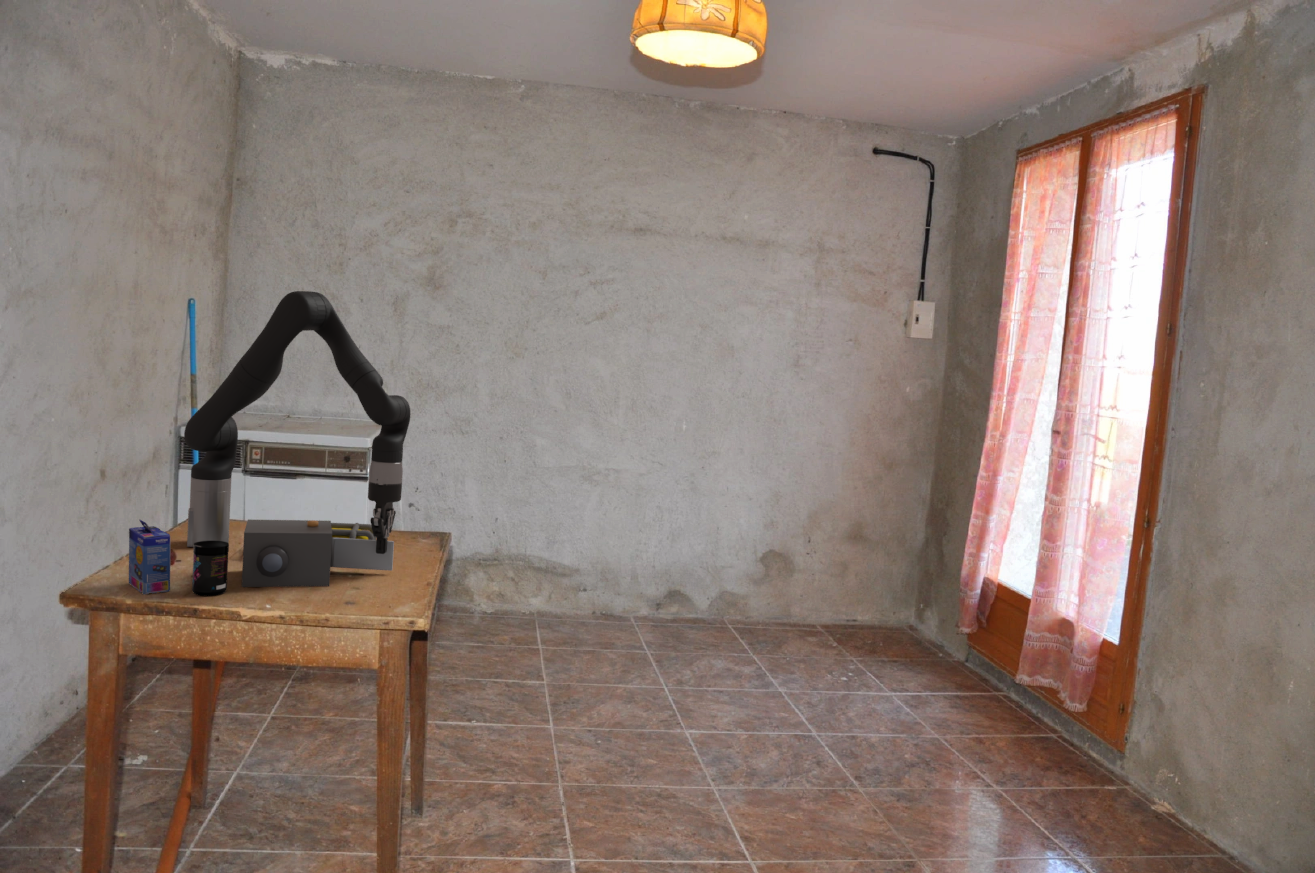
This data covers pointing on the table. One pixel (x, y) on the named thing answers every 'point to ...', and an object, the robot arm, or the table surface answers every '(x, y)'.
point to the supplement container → (210, 568)
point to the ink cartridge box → (149, 559)
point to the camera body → (286, 553)
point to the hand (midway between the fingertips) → (381, 553)
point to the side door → (360, 554)
